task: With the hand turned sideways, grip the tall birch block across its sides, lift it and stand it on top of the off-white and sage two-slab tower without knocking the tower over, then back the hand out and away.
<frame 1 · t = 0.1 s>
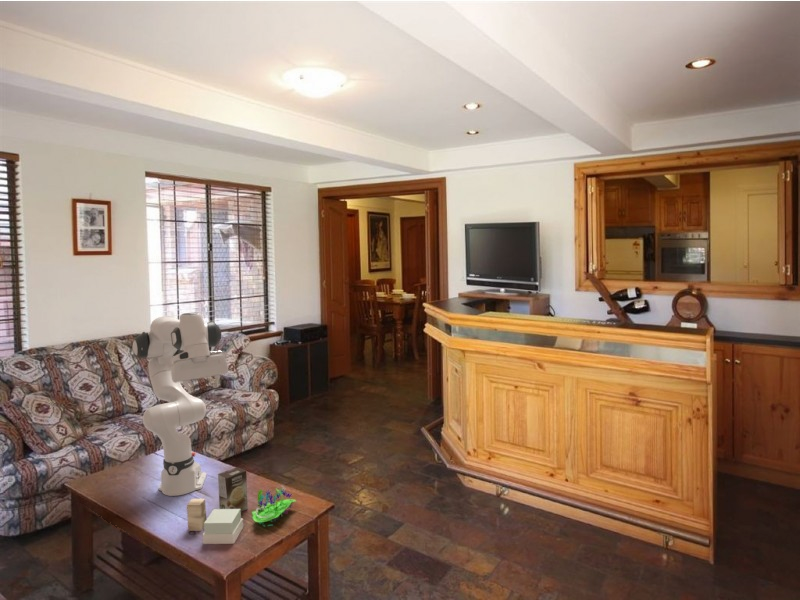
hand: (203, 390, 200), 52 cm above the table, tool tilted 20°, fingers open, 8 cm apart
birch block: (197, 527, 203), on the table
coffee box: (234, 511, 214), on the table
top slab: (223, 526, 196), point 4 cm above the table
diorama: (273, 518, 208), on the table
bottom slab: (223, 536, 197), on the table
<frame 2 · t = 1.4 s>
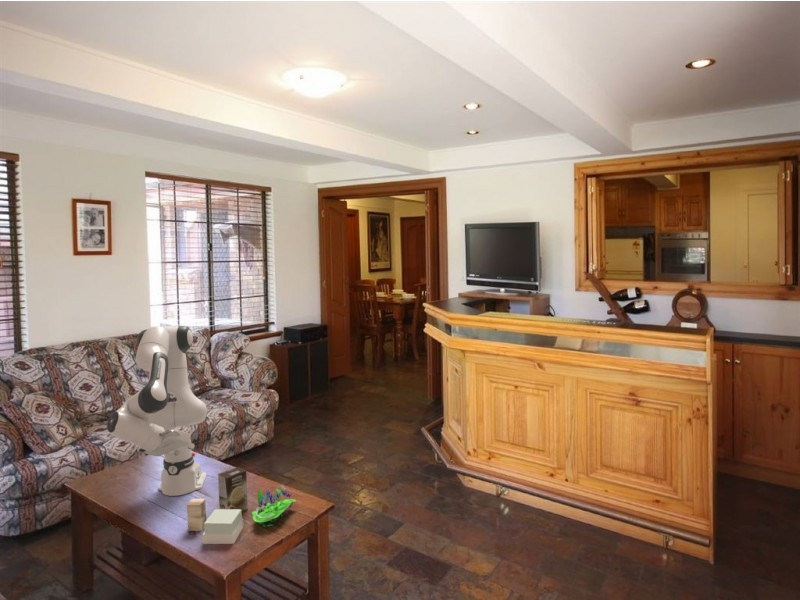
hand: (185, 450, 202), 29 cm above the table, tool tilted 55°, fingers open, 8 cm apart
top slab: (223, 526, 196), point 3 cm above the table, touching bottom slab
bottom slab: (223, 536, 196), on the table, touching top slab
everything else where it was.
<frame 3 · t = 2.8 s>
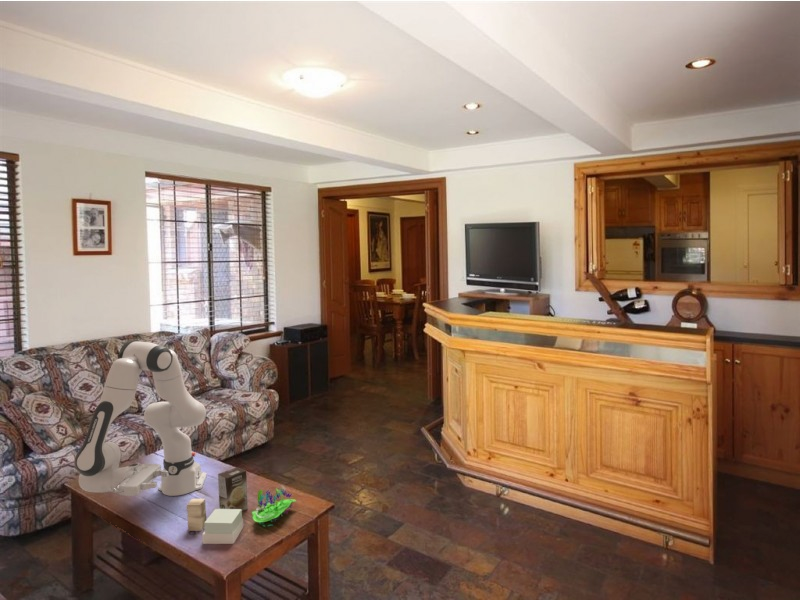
hand: (162, 479, 200), 19 cm above the table, tool horizontal, fingers open, 8 cm apart
nothing on the table moved.
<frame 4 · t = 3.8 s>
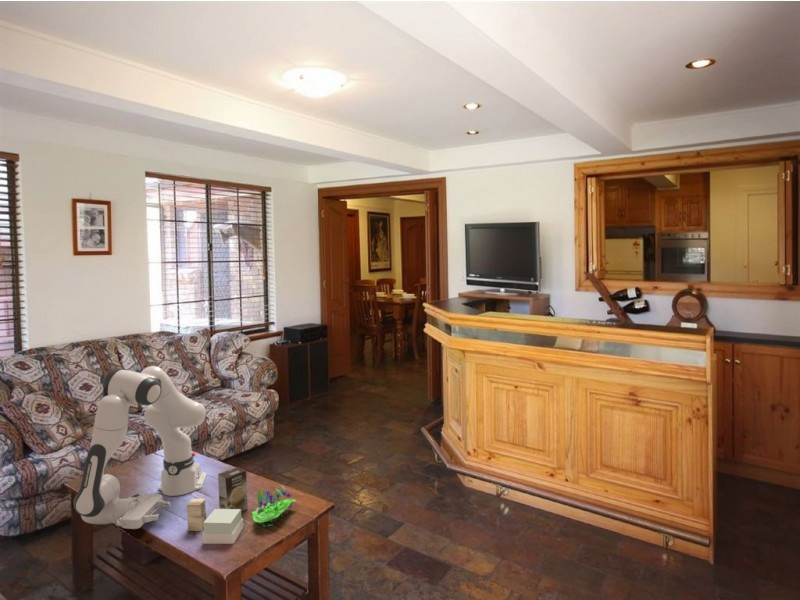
hand: (164, 510, 202), 7 cm above the table, tool horizontal, fingers open, 8 cm apart
nothing on the table moved.
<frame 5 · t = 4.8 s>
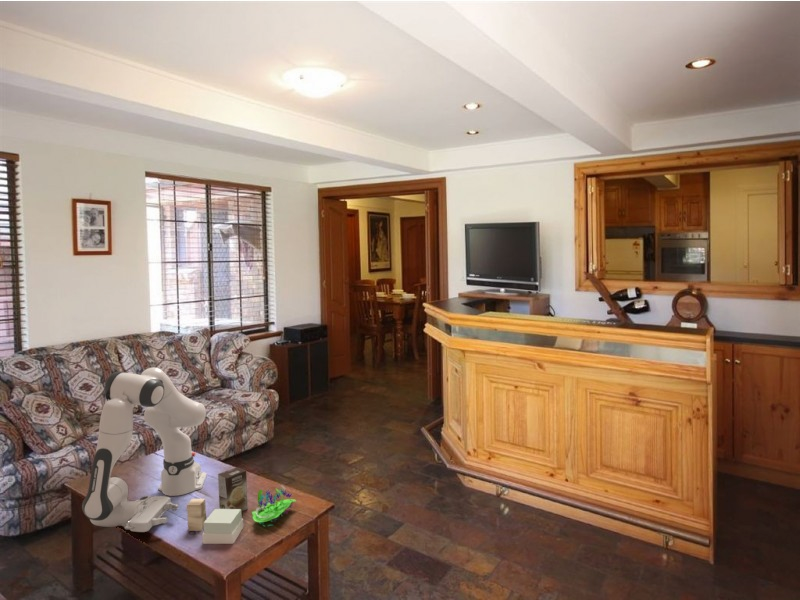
hand: (172, 513, 202), 5 cm above the table, tool horizontal, fingers open, 8 cm apart
nothing on the table moved.
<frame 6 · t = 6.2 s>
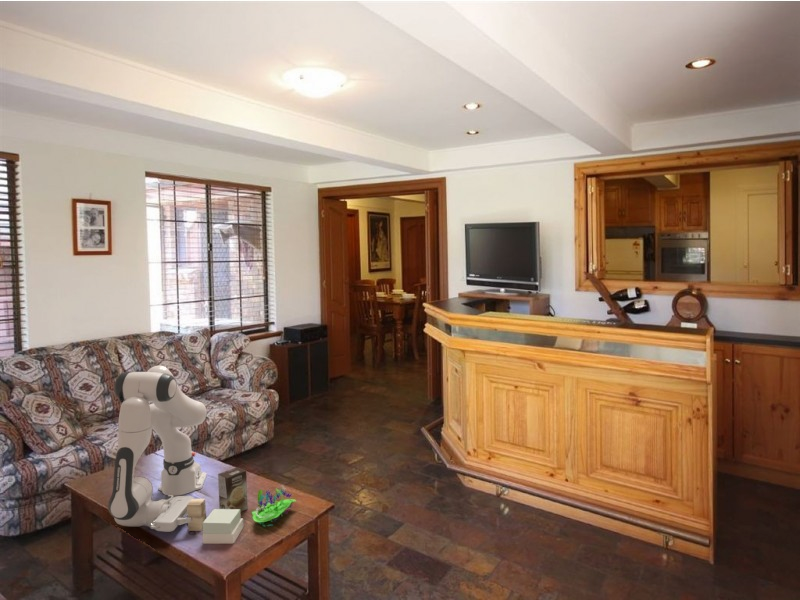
hand: (196, 513, 202), 5 cm above the table, tool horizontal, fingers open, 8 cm apart
top slab: (222, 526, 196), point 3 cm above the table
bottom slab: (223, 536, 197), on the table
everything else where it was.
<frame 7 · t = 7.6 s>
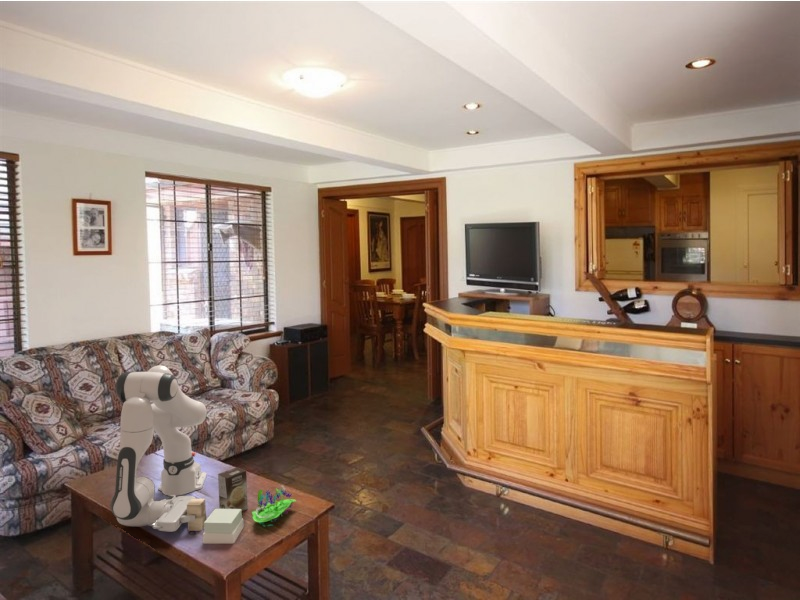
hand: (199, 513, 202), 6 cm above the table, tool horizontal, fingers closed on birch block, 5 cm apart
birch block: (197, 527, 203), on the table, touching gripper
top slab: (223, 526, 196), point 3 cm above the table, touching bottom slab
bottom slab: (224, 536, 197), on the table, touching top slab
everything else where it was.
when the fingers open (15 cm above the table, at t = 13.7 s): birch block drops 2 cm, point 7 cm above the table.
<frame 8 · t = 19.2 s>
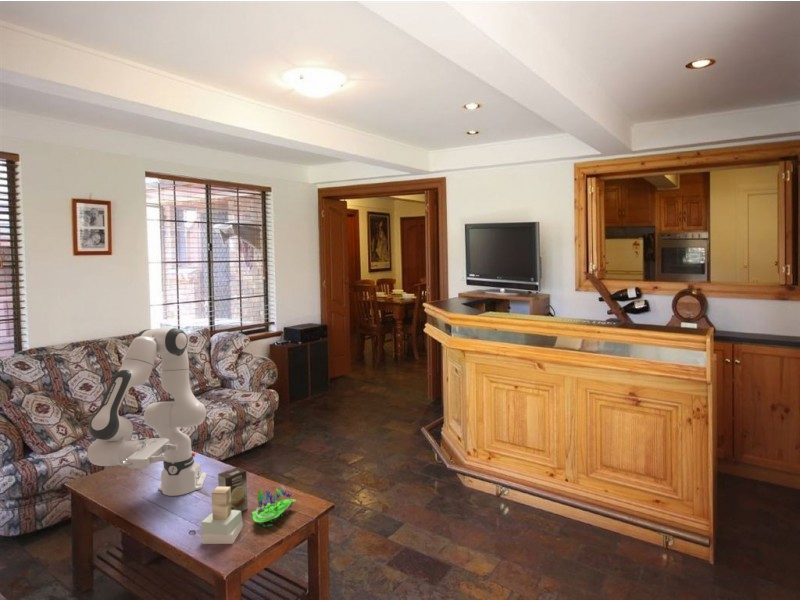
hand: (171, 452, 197), 30 cm above the table, tool horizontal, fingers open, 8 cm apart
birch block: (222, 515, 196), point 7 cm above the table
at the end: birch block 0.1 cm off-centre on the top slab, point 4.1 cm above the top slab's base; birch block tilted 1°; top slab point 3.5 cm above the table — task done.
